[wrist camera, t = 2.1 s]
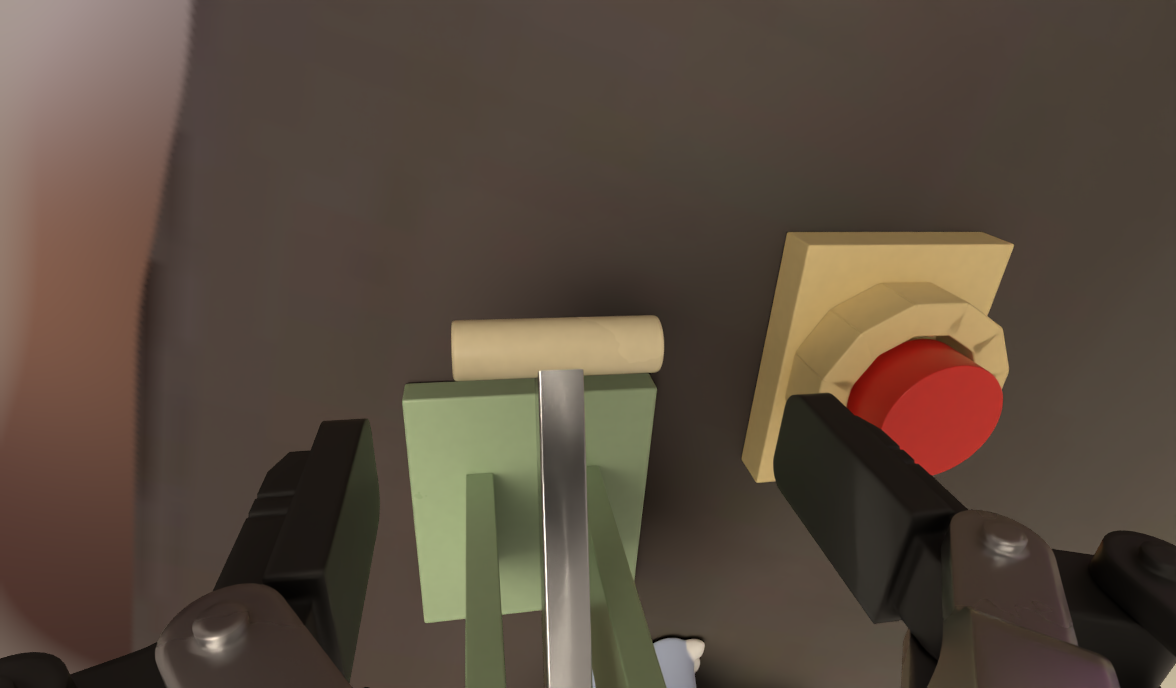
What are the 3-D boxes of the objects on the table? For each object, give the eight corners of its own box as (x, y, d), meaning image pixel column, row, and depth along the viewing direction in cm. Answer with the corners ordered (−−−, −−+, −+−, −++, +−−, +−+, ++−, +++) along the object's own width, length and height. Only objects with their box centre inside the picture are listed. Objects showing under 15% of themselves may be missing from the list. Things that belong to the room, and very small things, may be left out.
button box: (786, 231, 21) (841, 265, 18) (981, 231, 23) (1064, 262, 20) (740, 459, 26) (778, 518, 23) (906, 447, 27) (964, 501, 24)
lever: (453, 320, 15) (449, 319, 13) (642, 315, 16) (671, 314, 14) (471, 820, 16) (470, 906, 14) (654, 789, 17) (683, 864, 14)
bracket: (404, 382, 21) (337, 762, 10) (649, 372, 23) (821, 690, 12) (425, 600, 26) (395, 1019, 15) (626, 579, 28) (733, 943, 17)
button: (864, 340, 20) (900, 368, 19) (978, 336, 21) (1023, 363, 19) (833, 447, 22) (864, 482, 20) (938, 440, 23) (976, 472, 21)
